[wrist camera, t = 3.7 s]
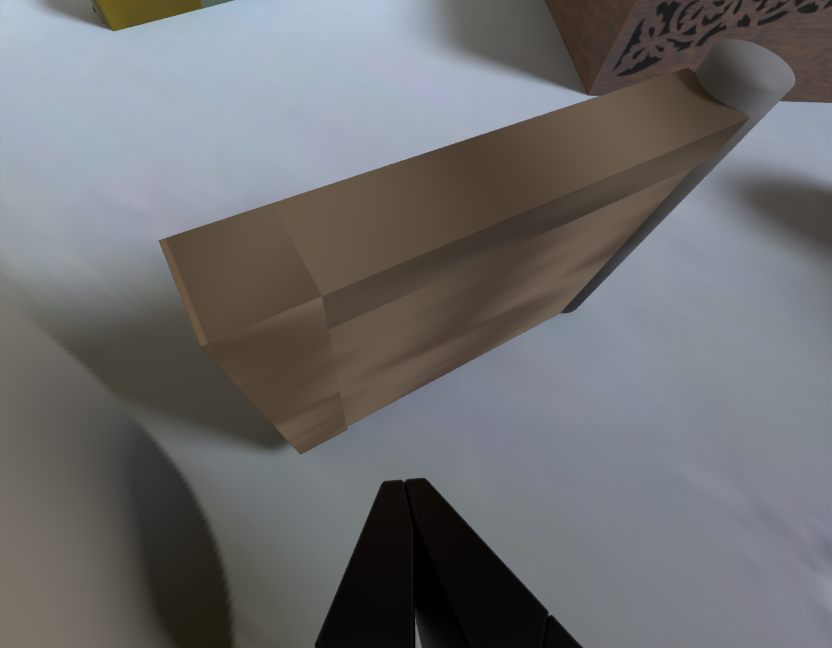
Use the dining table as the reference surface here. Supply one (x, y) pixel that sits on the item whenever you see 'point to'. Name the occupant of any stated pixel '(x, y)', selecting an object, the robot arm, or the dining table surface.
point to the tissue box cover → (693, 38)
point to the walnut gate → (454, 243)
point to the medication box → (144, 10)
